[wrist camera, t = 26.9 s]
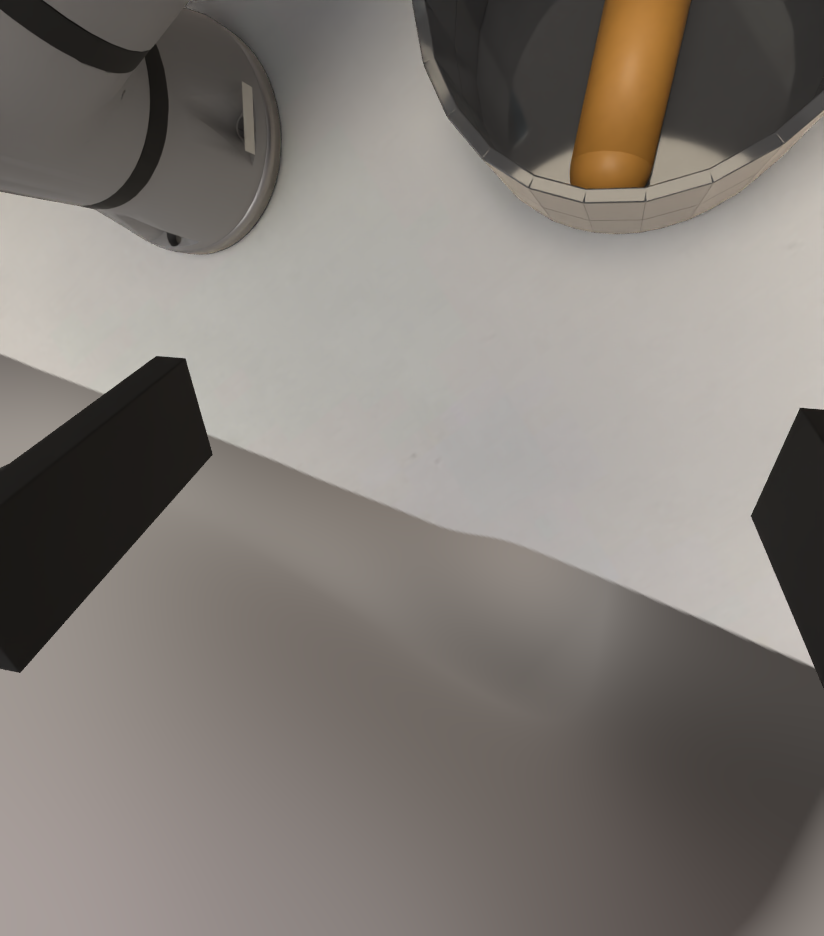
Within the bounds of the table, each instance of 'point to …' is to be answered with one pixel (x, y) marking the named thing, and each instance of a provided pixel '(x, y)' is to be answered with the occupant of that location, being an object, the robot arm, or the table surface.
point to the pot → (686, 117)
